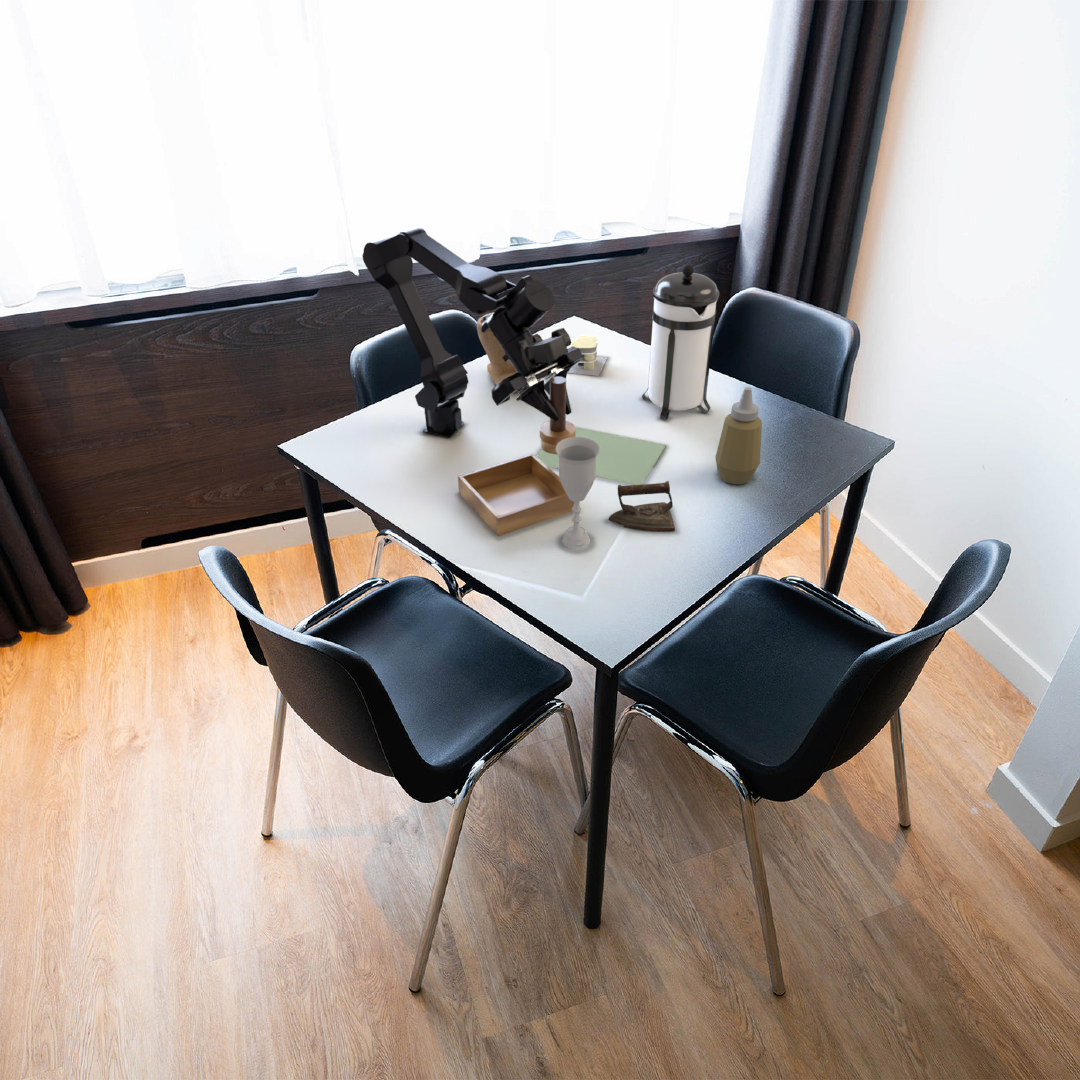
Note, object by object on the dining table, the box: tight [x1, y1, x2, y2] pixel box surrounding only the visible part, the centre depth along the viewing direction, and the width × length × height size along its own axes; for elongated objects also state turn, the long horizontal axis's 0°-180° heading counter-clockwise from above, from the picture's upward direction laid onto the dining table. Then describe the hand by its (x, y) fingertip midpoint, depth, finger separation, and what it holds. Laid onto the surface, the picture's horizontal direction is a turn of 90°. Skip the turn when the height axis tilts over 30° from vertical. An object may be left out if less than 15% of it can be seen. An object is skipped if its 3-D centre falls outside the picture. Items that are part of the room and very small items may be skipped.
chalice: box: [556, 437, 600, 550], centre depth 135 cm, size 7×7×18 cm
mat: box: [535, 426, 667, 485], centre depth 163 cm, size 22×16×1 cm
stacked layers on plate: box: [567, 335, 608, 377], centre depth 194 cm, size 10×9×6 cm
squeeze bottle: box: [714, 386, 763, 485], centre depth 151 cm, size 8×8×18 cm
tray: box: [457, 452, 574, 537], centre depth 149 cm, size 15×15×4 cm
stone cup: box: [476, 312, 541, 393], centre depth 185 cm, size 15×12×15 cm
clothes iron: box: [608, 480, 676, 533], centre depth 143 cm, size 7×11×10 cm, turn 92°
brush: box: [539, 377, 576, 454], centre depth 148 cm, size 6×6×13 cm
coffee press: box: [641, 263, 720, 421], centre depth 171 cm, size 17×16×30 cm
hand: (563, 417), depth 147 cm, fingers closed on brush, 3 cm apart
